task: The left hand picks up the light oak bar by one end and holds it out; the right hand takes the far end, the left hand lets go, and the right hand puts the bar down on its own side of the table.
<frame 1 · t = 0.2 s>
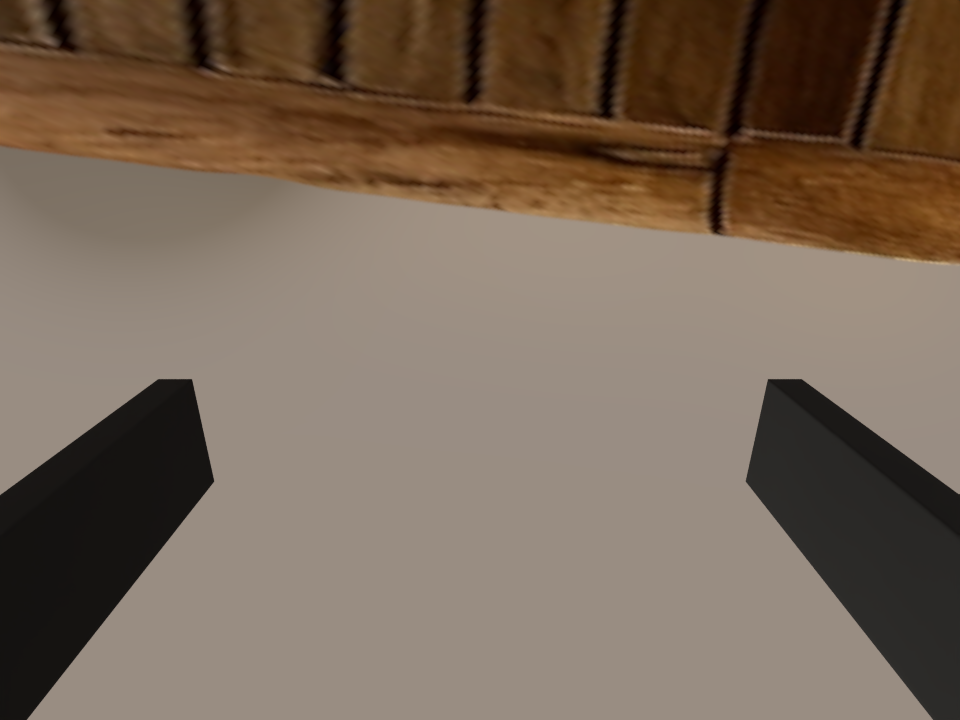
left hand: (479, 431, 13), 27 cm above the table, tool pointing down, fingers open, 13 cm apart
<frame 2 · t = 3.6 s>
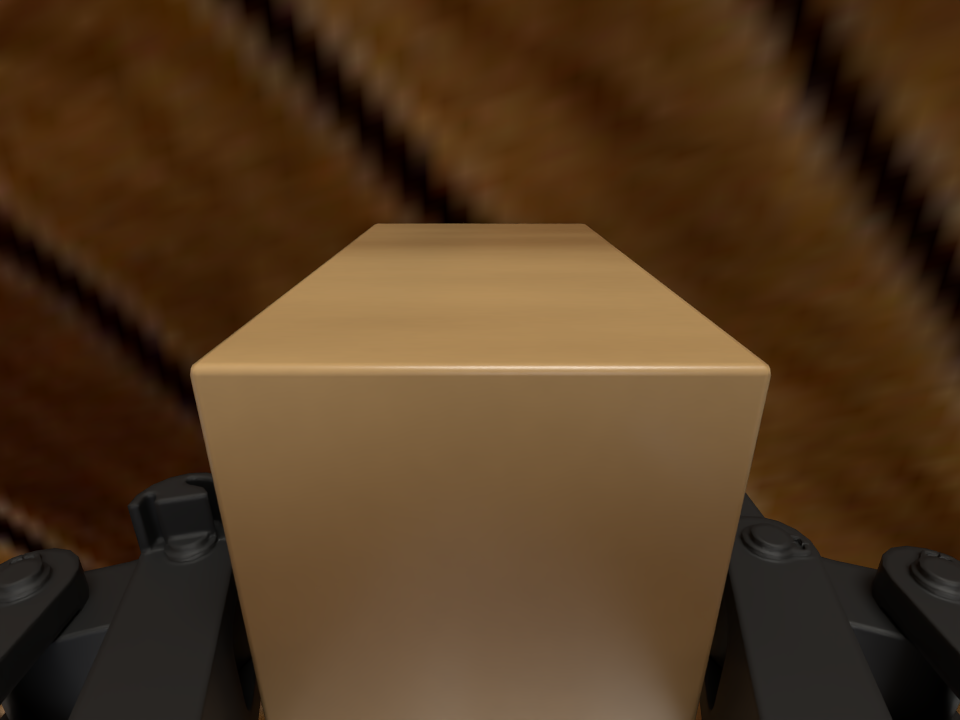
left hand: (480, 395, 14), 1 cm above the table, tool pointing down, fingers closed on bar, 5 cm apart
bar: (479, 598, 18), on the table, touching left hand
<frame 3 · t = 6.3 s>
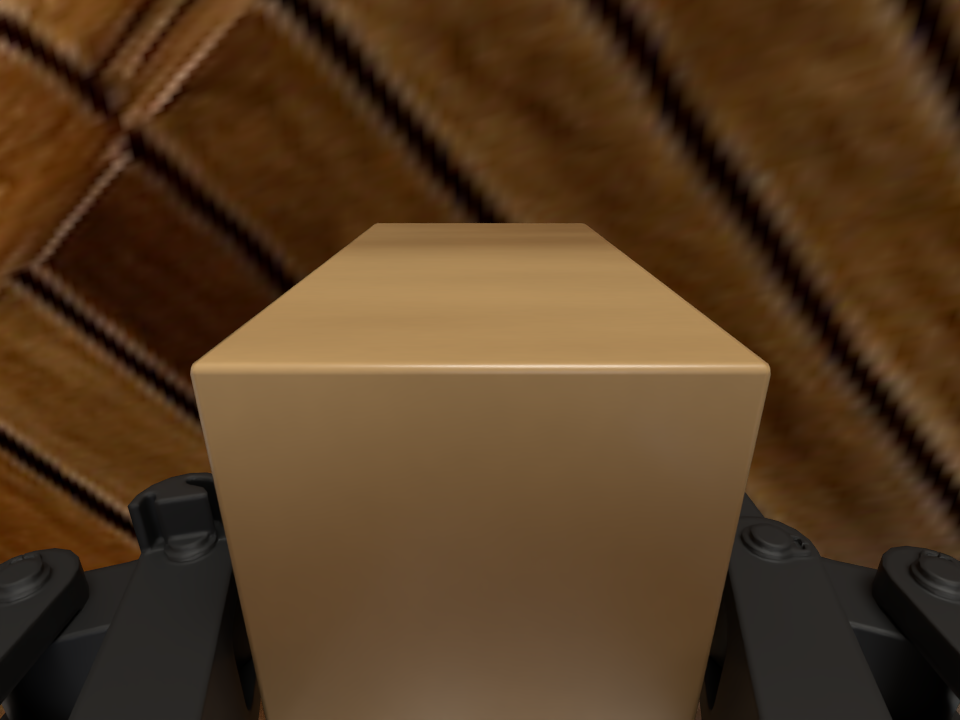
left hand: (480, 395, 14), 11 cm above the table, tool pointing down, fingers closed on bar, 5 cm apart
bar: (480, 598, 18), point 10 cm above the table, touching left hand
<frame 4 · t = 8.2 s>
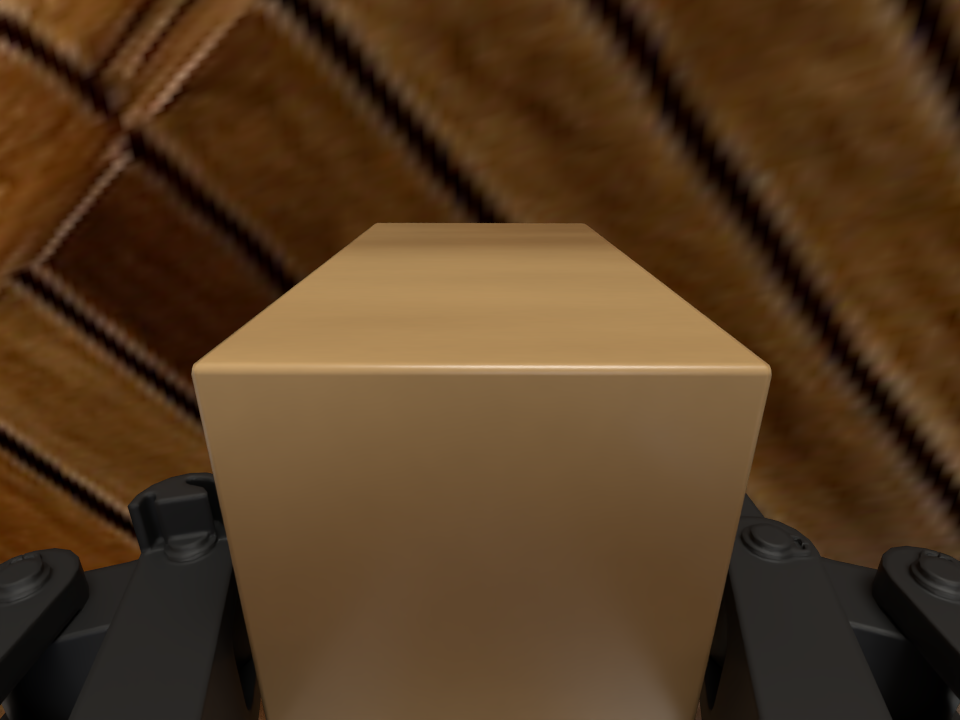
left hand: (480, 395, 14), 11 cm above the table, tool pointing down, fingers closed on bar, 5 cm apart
bar: (479, 597, 18), point 10 cm above the table, touching left hand, right hand
when the left hand's fingers open (11 cm above the table, at t = 9.0 s): bar stays where it is, held by the right hand.
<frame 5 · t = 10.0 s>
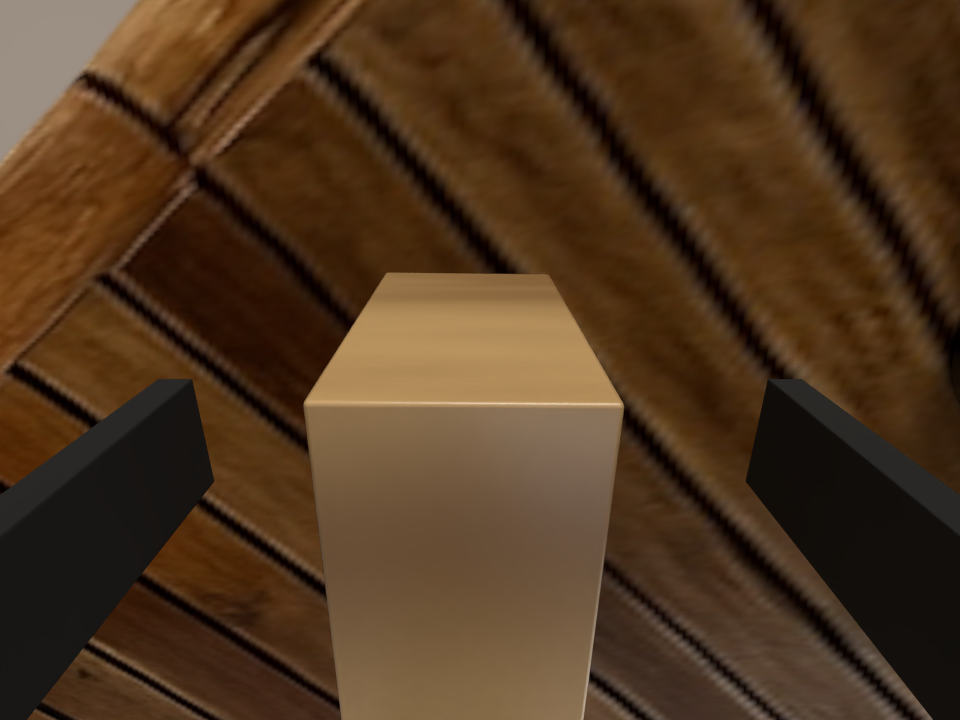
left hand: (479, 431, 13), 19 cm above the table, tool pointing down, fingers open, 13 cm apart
bar: (465, 569, 22), point 13 cm above the table, touching right hand
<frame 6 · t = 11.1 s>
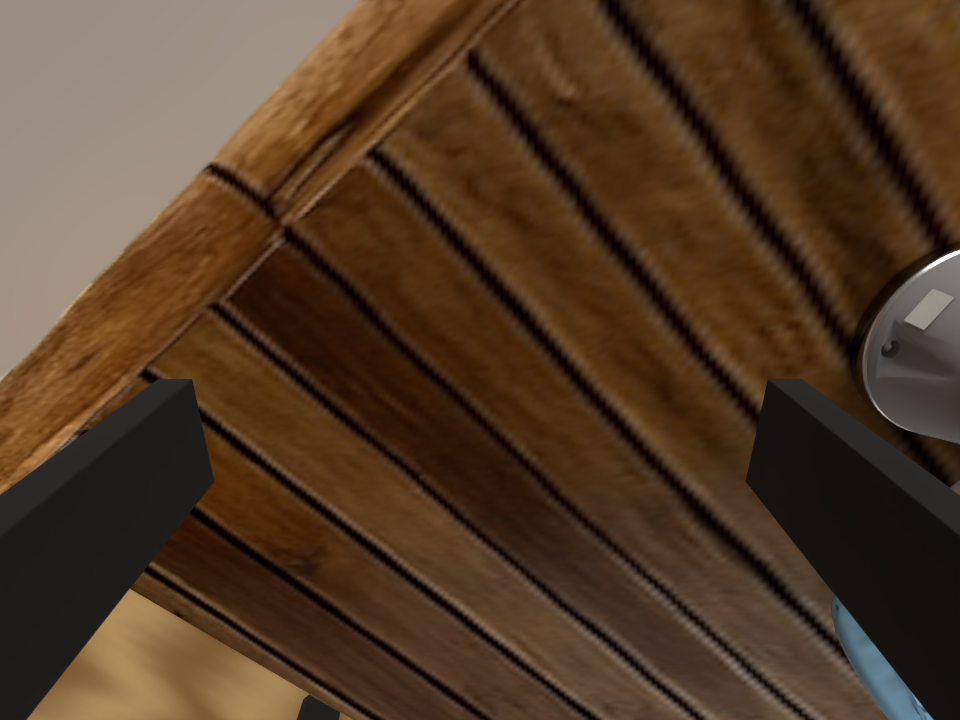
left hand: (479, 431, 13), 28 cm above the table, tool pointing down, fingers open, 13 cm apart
bar: (207, 666, 37), point 13 cm above the table, touching right hand
when the right hand's fingers open (2 cm above the table, at t = 14.3 s): bar drops 1 cm, on the table.
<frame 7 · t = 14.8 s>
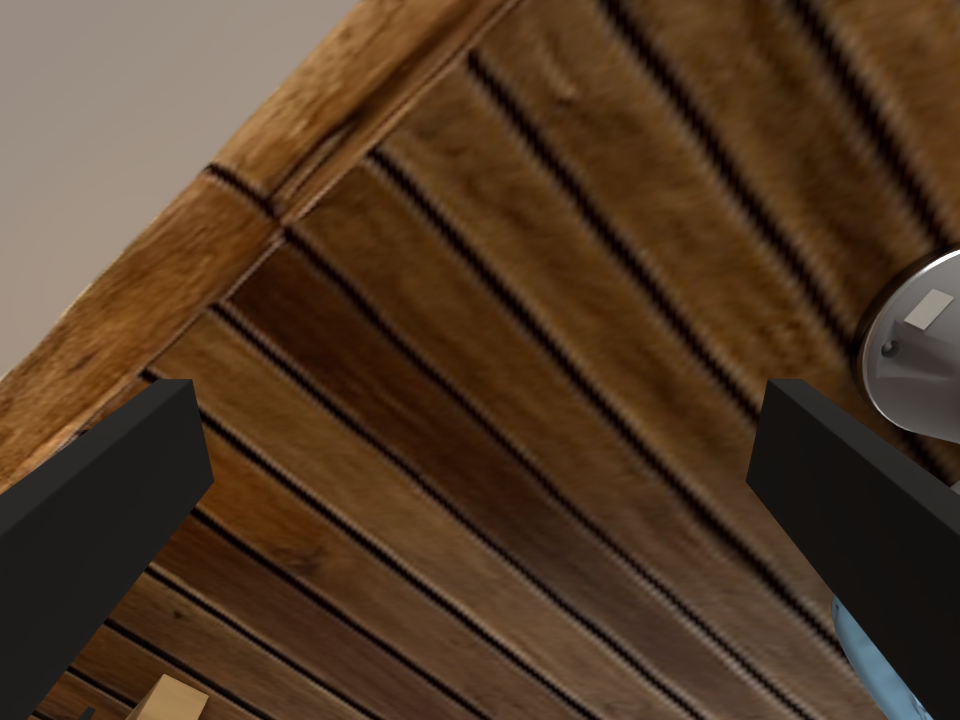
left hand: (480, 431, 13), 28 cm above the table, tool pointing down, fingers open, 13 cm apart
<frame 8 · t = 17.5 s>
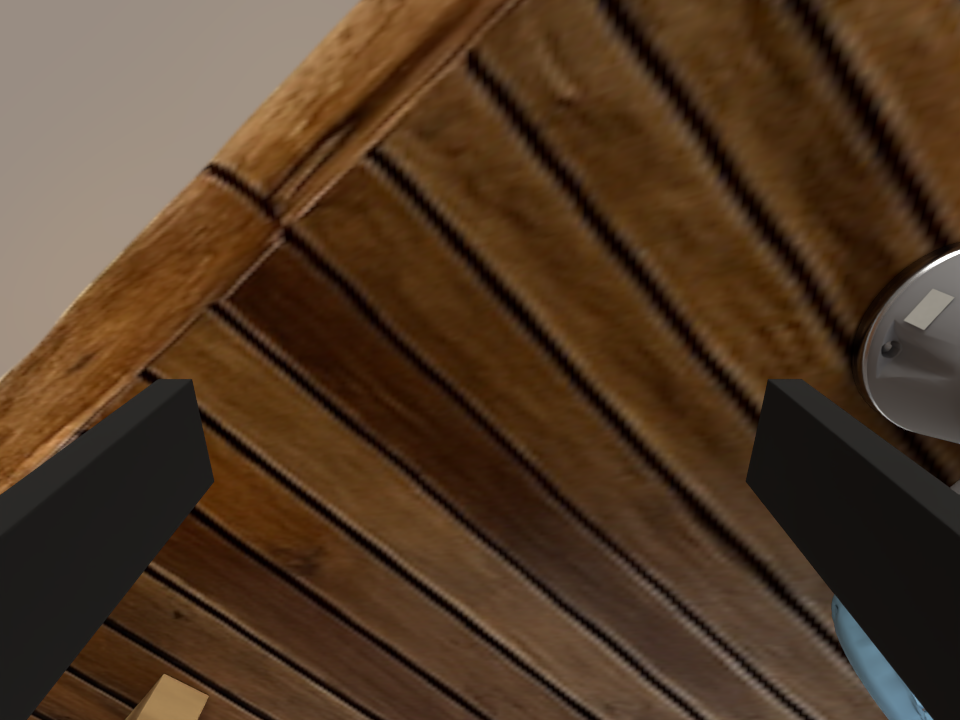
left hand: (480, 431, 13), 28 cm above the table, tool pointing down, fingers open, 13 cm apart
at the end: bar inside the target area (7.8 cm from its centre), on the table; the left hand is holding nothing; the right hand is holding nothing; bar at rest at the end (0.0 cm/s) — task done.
